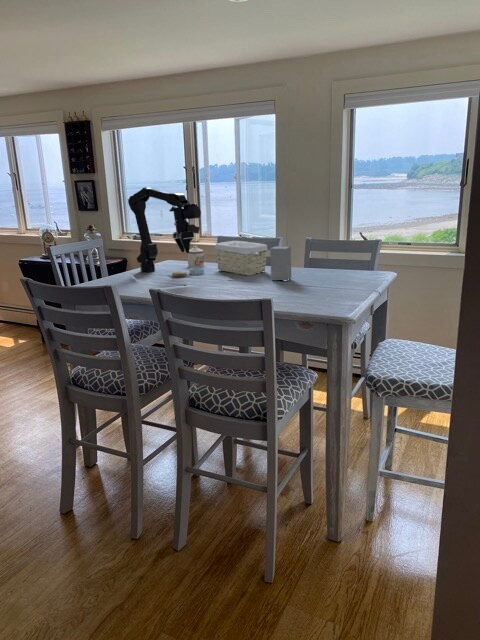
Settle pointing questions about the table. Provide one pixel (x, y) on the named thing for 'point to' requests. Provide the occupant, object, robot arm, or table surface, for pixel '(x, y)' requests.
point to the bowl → (196, 271)
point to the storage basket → (241, 257)
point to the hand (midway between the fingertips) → (185, 252)
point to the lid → (179, 274)
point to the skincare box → (280, 263)
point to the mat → (180, 277)
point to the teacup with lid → (196, 257)
